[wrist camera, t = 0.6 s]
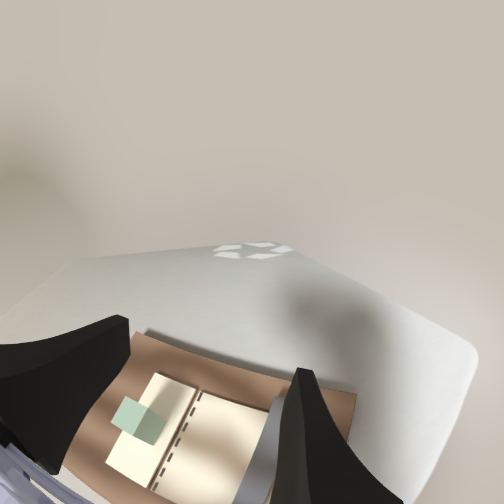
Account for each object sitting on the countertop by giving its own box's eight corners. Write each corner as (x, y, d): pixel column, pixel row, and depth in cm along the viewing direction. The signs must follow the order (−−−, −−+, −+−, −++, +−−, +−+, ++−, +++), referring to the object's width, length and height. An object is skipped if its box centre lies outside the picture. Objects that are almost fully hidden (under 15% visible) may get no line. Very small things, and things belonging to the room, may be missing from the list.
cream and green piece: (147, 488, 17) (122, 484, 14) (107, 463, 19) (79, 453, 15) (196, 390, 25) (183, 370, 22) (156, 374, 27) (138, 352, 24)
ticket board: (295, 571, 11) (297, 580, 9) (66, 463, 19) (49, 457, 17) (353, 398, 25) (360, 388, 23) (140, 337, 33) (131, 323, 30)
